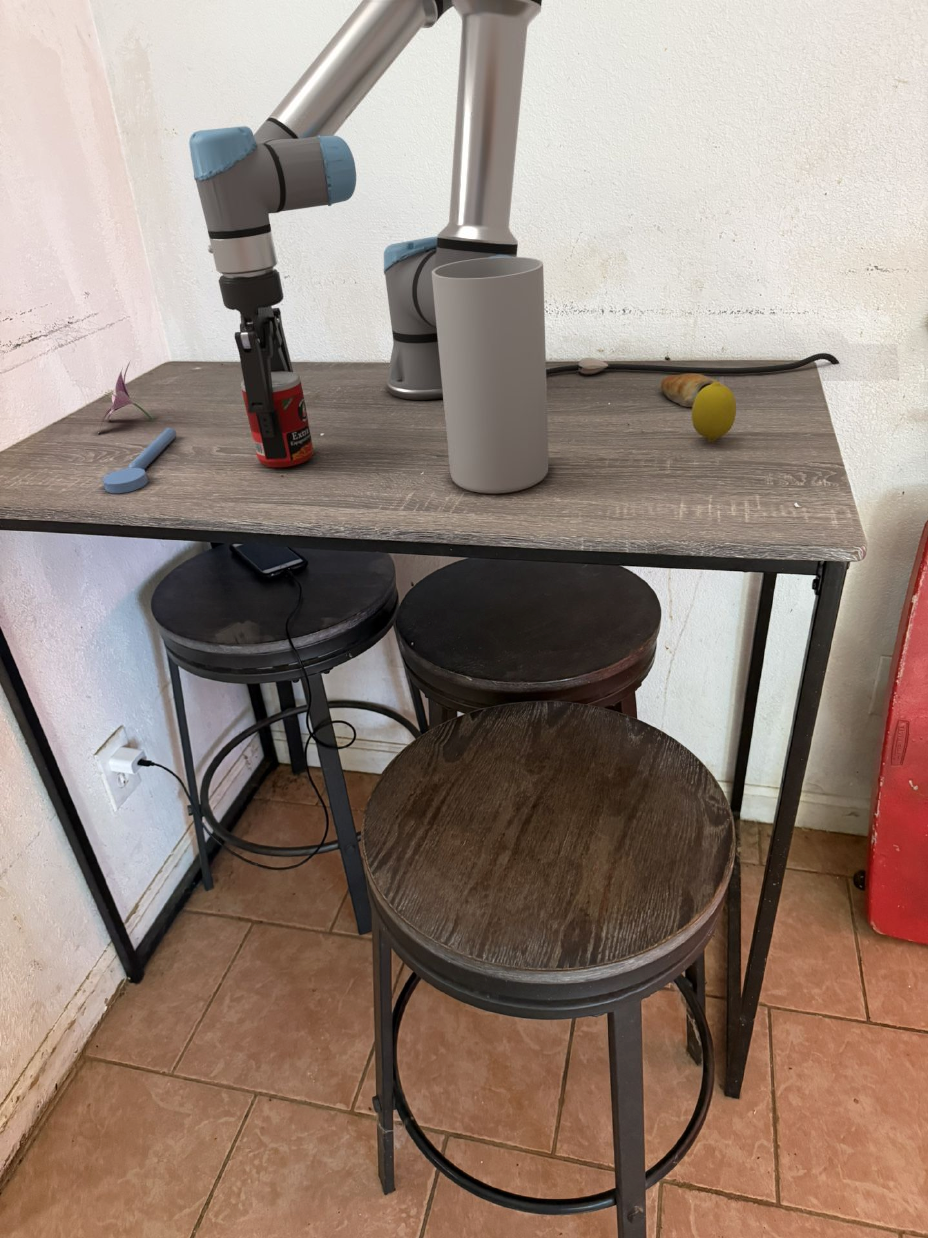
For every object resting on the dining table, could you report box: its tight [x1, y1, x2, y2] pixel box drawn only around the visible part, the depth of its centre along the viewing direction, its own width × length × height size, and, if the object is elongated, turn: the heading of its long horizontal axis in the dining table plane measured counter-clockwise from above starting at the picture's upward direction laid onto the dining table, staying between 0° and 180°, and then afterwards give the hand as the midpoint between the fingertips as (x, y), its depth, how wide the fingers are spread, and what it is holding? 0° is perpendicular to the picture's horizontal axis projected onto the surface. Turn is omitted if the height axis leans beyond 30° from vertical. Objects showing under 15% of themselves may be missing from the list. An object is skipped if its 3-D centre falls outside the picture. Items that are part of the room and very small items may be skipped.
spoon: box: [102, 427, 177, 494], centre depth 121 cm, size 21×6×2 cm, turn 177°
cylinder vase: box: [432, 256, 550, 495], centre depth 101 cm, size 12×12×25 cm
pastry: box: [659, 373, 718, 408], centre depth 127 cm, size 9×7×4 cm
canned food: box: [240, 371, 314, 468], centre depth 115 cm, size 8×8×11 cm
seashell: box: [578, 357, 609, 376], centre depth 141 cm, size 4×5×2 cm
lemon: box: [691, 381, 737, 443], centre depth 110 cm, size 6×6×8 cm
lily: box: [98, 360, 154, 432], centre depth 136 cm, size 12×12×10 cm
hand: (283, 446), depth 117 cm, fingers closed on canned food, 8 cm apart
